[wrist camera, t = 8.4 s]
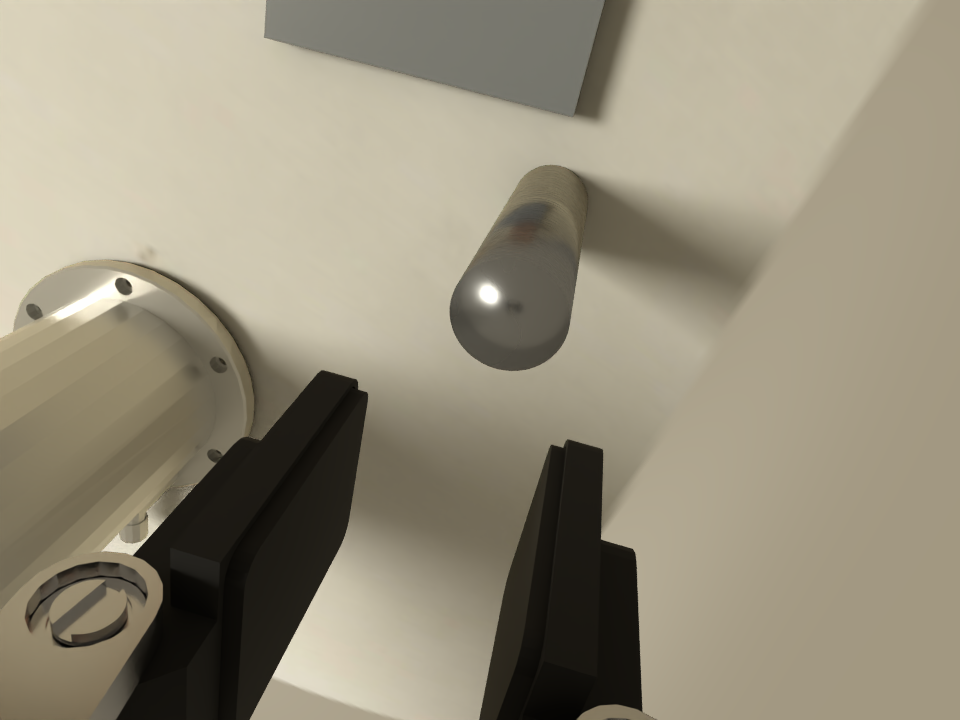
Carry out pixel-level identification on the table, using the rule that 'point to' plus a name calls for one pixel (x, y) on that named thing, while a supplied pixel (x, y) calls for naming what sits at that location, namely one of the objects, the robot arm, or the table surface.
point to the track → (455, 42)
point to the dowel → (524, 274)
